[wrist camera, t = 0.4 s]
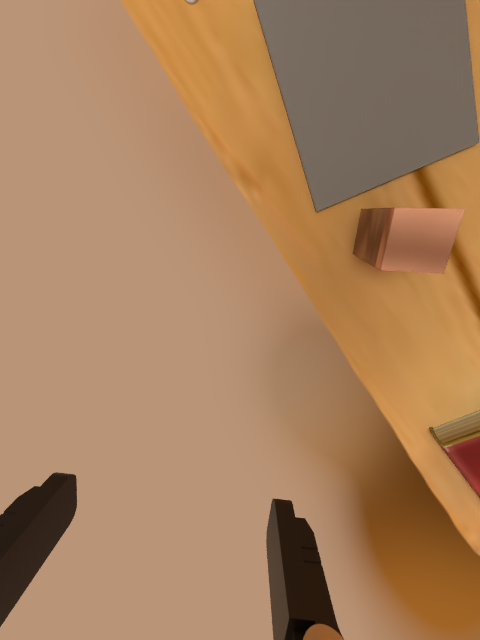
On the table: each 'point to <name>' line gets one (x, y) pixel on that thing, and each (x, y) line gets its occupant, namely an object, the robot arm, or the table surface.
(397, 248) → the copper block
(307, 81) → the charcoal mat
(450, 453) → the hardcover book
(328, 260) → the table surface
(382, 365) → the table surface
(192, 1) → the handheld gaming device
